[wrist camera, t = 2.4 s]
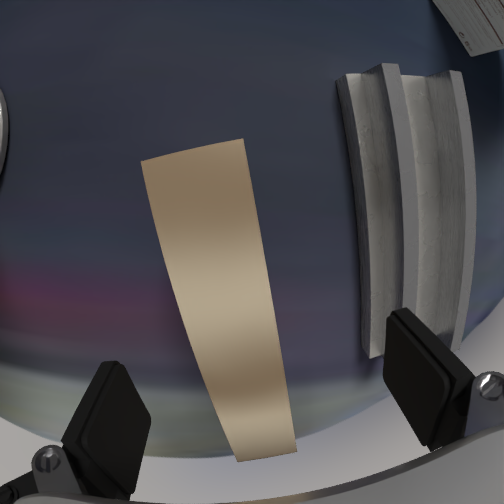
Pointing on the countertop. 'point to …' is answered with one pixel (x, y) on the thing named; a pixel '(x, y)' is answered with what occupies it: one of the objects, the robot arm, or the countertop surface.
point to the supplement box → (475, 23)
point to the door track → (411, 198)
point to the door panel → (224, 290)
